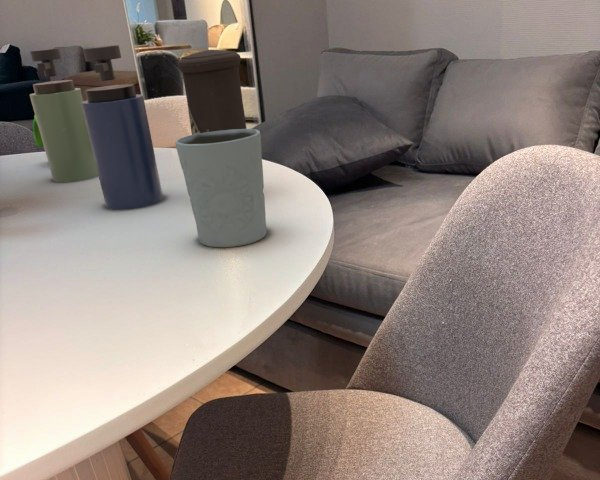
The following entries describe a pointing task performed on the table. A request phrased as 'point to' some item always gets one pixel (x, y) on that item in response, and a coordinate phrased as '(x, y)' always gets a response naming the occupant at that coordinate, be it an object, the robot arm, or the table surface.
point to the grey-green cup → (225, 185)
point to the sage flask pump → (46, 60)
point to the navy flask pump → (103, 60)
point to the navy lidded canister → (122, 146)
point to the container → (213, 91)
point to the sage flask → (64, 130)
